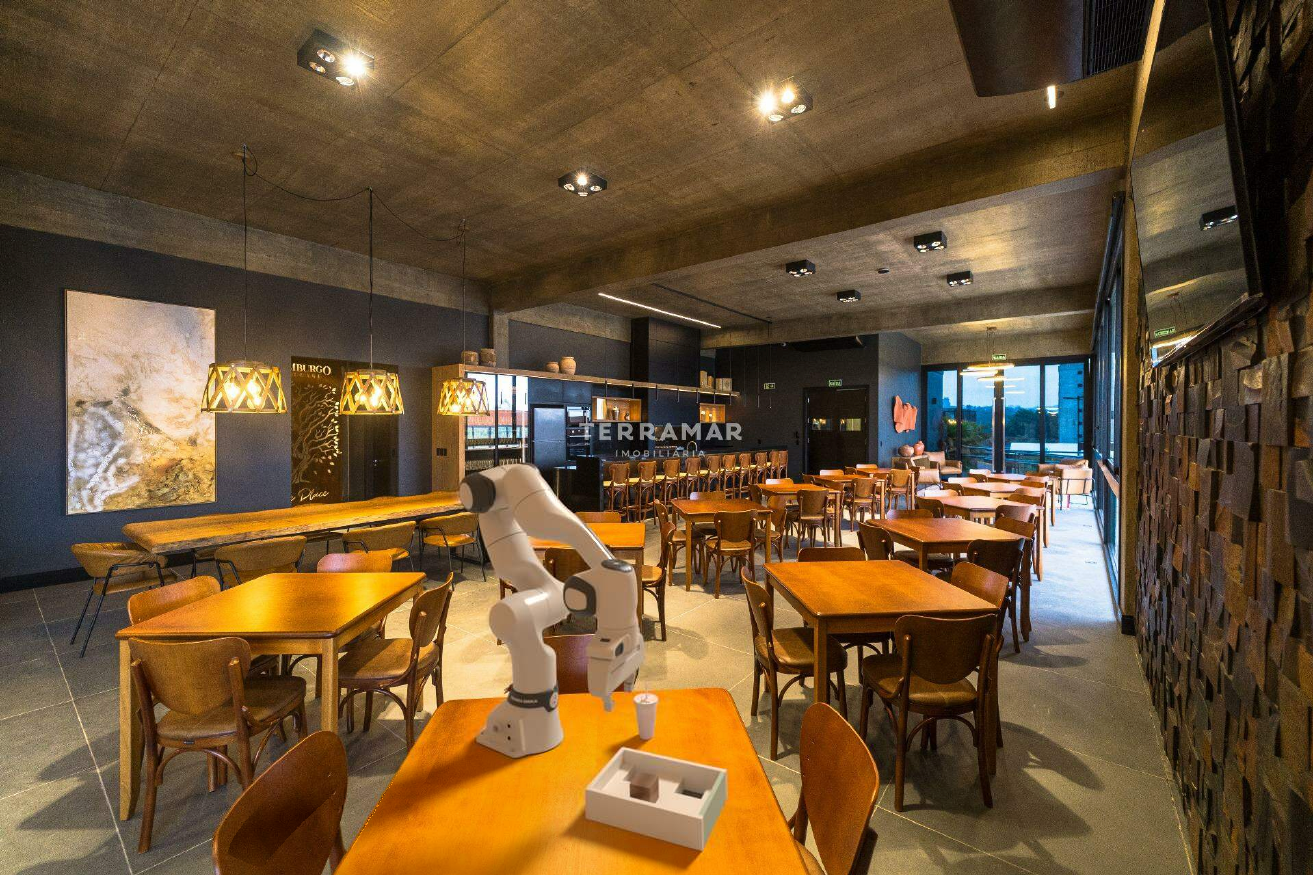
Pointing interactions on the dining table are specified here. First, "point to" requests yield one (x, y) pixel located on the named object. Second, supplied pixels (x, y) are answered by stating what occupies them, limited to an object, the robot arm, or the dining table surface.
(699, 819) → the box
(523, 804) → the dining table surface
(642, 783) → the walnut block
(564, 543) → the robot arm
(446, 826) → the dining table surface
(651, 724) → the smoothie
